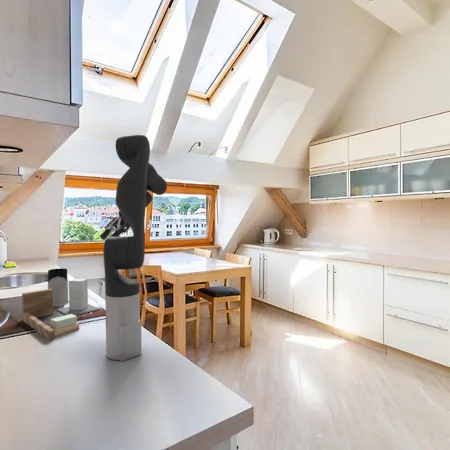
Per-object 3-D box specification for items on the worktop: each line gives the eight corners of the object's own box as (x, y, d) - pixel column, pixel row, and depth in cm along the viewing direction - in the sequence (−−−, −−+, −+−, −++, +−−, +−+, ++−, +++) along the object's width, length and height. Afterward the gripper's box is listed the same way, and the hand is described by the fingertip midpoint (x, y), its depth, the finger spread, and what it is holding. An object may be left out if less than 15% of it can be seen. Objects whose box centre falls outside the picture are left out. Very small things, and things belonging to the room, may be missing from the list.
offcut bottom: (79, 330, 109) (79, 323, 108) (54, 337, 102) (54, 330, 102) (72, 327, 112) (72, 320, 112) (48, 334, 106) (48, 326, 105)
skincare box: (88, 307, 132) (88, 278, 131) (83, 310, 127) (82, 281, 127) (74, 306, 132) (74, 278, 132) (68, 310, 128) (68, 280, 128)
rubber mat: (99, 310, 130) (99, 308, 130) (69, 317, 121) (69, 315, 121) (86, 304, 138) (86, 303, 138) (57, 310, 129) (57, 309, 129)
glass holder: (46, 307, 133) (45, 272, 133) (47, 299, 146) (47, 267, 145) (69, 304, 137) (69, 270, 137) (68, 297, 150) (68, 265, 149)
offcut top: (77, 323, 109) (77, 316, 109) (56, 329, 103) (56, 321, 103) (71, 320, 111) (71, 313, 111) (50, 326, 105) (50, 319, 105)
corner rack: (82, 331, 106) (81, 302, 106) (49, 340, 98) (48, 309, 98) (51, 313, 125) (51, 288, 125) (21, 319, 118) (21, 293, 117)
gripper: (117, 204, 136) (92, 231, 128) (135, 203, 127) (109, 232, 119) (129, 216, 140) (104, 243, 132) (147, 216, 131) (122, 245, 123)
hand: (106, 238), depth 125 cm, fingers open, 8 cm apart
